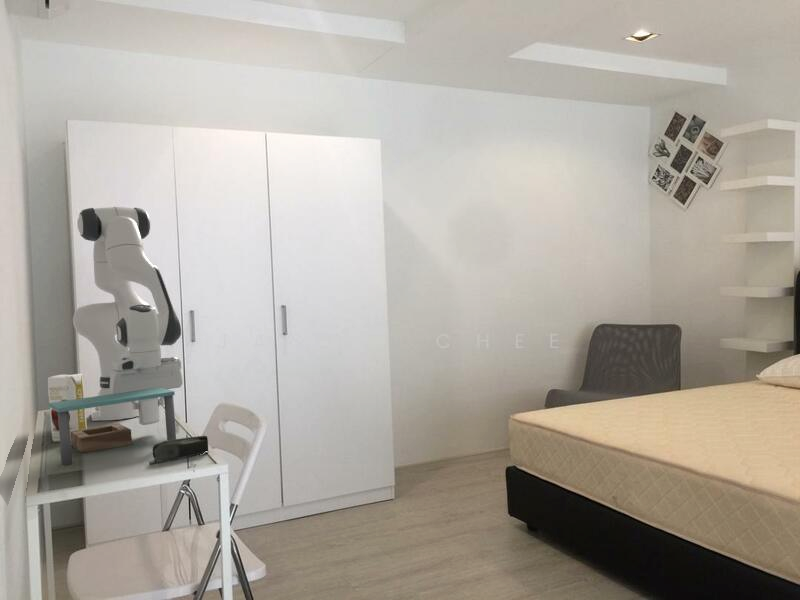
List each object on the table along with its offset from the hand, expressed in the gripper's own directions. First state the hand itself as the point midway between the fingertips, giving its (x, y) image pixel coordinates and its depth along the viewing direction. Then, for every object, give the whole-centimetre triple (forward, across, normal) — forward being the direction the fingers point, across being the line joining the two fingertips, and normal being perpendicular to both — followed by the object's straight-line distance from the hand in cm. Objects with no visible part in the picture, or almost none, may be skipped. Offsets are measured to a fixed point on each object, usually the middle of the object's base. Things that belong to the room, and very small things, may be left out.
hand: (148, 407), depth 203 cm
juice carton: (+9, +19, -14) cm, 25 cm away
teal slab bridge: (+8, +13, +13) cm, 20 cm away
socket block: (+8, +14, +2) cm, 16 cm away
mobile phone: (+8, +3, +35) cm, 36 cm away
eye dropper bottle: (+5, 0, 0) cm, 5 cm away
